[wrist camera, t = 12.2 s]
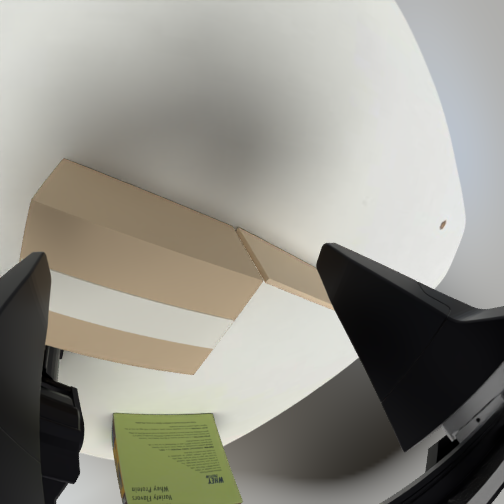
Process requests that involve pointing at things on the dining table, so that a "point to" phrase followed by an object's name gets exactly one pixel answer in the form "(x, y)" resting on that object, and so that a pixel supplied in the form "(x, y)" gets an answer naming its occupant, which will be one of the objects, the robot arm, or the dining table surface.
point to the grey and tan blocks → (285, 270)
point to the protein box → (171, 460)
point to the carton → (135, 271)
